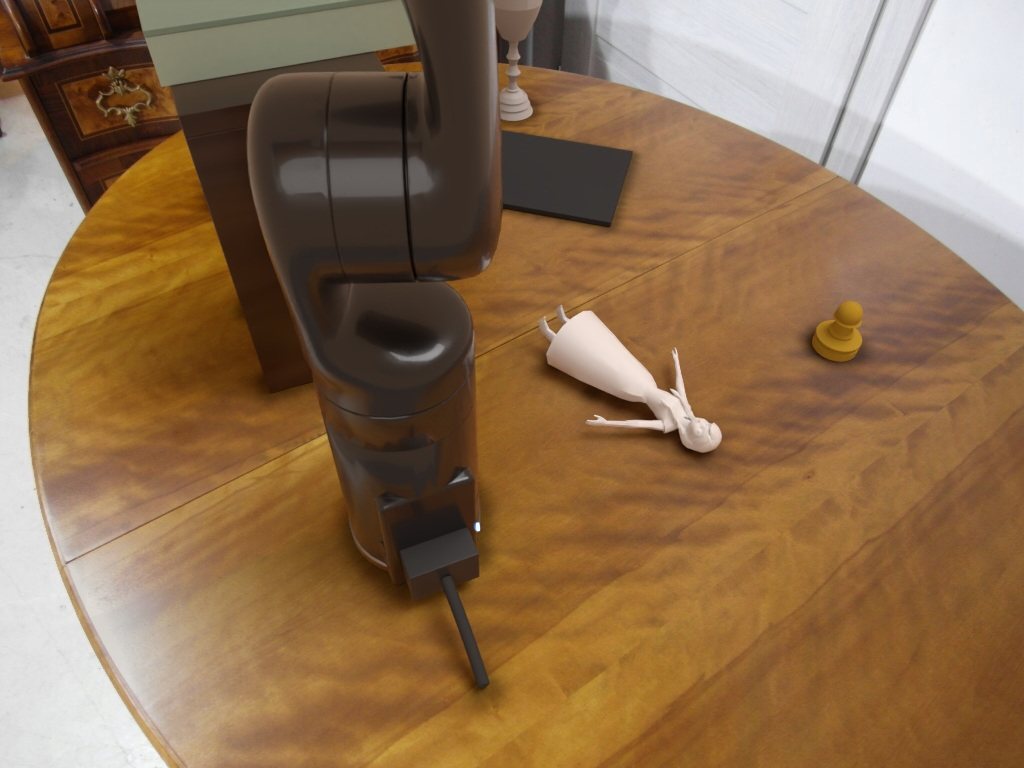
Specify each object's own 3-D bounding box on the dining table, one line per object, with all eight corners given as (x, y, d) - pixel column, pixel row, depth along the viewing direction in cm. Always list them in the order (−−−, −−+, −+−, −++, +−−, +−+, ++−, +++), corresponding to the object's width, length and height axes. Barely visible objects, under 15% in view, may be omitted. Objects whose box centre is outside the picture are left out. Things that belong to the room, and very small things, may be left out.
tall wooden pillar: (419, 351, 68) (391, 77, 49) (269, 393, 64) (177, 115, 45) (380, 268, 75) (342, 2, 56) (244, 302, 71) (155, 30, 53)
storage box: (493, 31, 53) (494, -22, 51) (161, 88, 48) (142, 30, 45) (470, 5, 56) (469, -47, 54) (153, 55, 50) (135, -1, 48)
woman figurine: (596, 269, 68) (768, 388, 61) (589, 305, 72) (750, 421, 64) (502, 335, 63) (679, 474, 55) (499, 370, 66) (665, 505, 59)
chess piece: (812, 326, 71) (829, 284, 67) (856, 335, 70) (877, 293, 66) (811, 356, 68) (829, 315, 64) (857, 365, 67) (878, 324, 64)
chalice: (477, 121, 93) (474, -39, 80) (488, 93, 98) (487, -63, 84) (537, 127, 93) (545, -33, 79) (545, 99, 97) (553, -57, 84)
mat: (632, 155, 89) (632, 150, 88) (610, 227, 80) (610, 222, 80) (450, 126, 93) (449, 121, 92) (409, 191, 84) (408, 186, 83)
